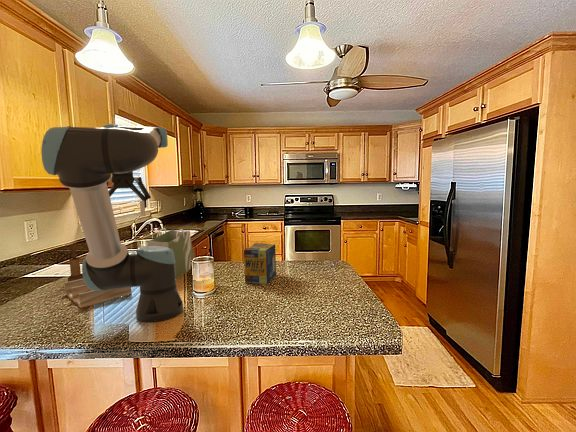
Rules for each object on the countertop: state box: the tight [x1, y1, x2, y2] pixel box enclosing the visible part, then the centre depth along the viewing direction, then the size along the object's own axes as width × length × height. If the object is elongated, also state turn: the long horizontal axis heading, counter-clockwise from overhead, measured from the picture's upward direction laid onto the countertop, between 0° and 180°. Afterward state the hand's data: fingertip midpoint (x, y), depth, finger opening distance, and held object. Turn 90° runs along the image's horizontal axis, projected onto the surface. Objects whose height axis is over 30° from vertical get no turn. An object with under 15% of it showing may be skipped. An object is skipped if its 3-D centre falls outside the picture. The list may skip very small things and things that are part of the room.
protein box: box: [243, 242, 277, 286], centre depth 141 cm, size 10×15×16 cm
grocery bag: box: [147, 227, 196, 279], centre depth 155 cm, size 32×14×23 cm, turn 176°
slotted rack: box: [64, 279, 133, 309], centre depth 127 cm, size 22×18×5 cm
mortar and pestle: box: [67, 243, 83, 282], centre depth 145 cm, size 7×6×18 cm
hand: (126, 217), depth 125 cm, fingers open, 13 cm apart
